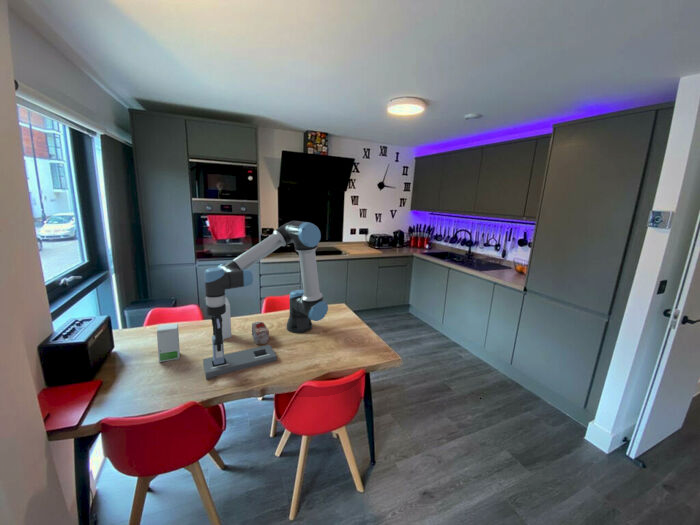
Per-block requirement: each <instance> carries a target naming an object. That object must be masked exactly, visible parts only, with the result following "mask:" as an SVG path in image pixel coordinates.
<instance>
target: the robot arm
mask: <svg viewBox="0 0 700 525" xmlns="http://www.w3.org/2000/svg"><path fill="white" fill-rule="evenodd" d="M321 234H322V233H321V230H320V229H319V227H318V226H317V225H315V223H312V222H309V221H299V220H291V221H289V222H286V223H284V224H283V225H280V227H277V228H276V229H275V230H273V232H272V234H270V235H269V236H267V237H266V238H265V239H263V240H261V241H260V242H259V243H257V244H255V245H254V246H252V247H251V248H249V249H248V250H245V252H243V253H241V254H240V255H237V257H235V258H233V259H232V260H230V261H229V262H227V263H221V264H219V265H218V266H217V267H210V268H207V269H205V270H204V276H203V277H204V278H203V279H204V280H203V281H204V289H205V297H204V298H203V300H204V301H205V305H206V306H205V308H206V312H205V313H206V315H208V316H209V317H210V316H211V318H210V319H211V326H212V336H214V335H215V342H216V343H214V345H215V352H216V358H219V357H223V351H222V344H223V345H224V339H223V340H222V318H221V315H222V314H224V313H225V312H226V304H225V303H226V299H225V298H226V290H232V289H237V288H245V287H249V286H251V285H253V283H254V275H253V273H252V270H250V268H251V267H252V266H254V265H255V264H257V263H258V262H259V261H261V260H262V259H264V258H266V257H267V256H269V255H271V254H272V253H273V252H274V251H276V250H278V249H279V248H280V247H286V245H288V244H292V243H293V245H294V250H295V251H296V252H297V253H298V259H299V267H300V274H301V281H302V282H301V283H302V289H296V290H292V291H290V293H289V296H288V297H289V317H288V319H287V321H286V322H287V323H286V330H287V331H288V332H291V333H294V334H298V333H299V334H301V333H306V332H309V331H311V330H312V328H313V322H314V321H315V322H319V321H322V320H323V319H324V318H325V317H326V315H327V313H328V311H329V306H328V304H327V301H324V296H323V293H322V292H320V285H319V284H320V283H319V275H318V268H317V267H318V265H317V257H316V250H317V249H318V245H319V243H320V241H321V238H322V235H321Z"/></svg>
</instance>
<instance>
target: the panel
mask: <svg viewBox="0 0 700 525" xmlns="http://www.w3.org/2000/svg"><path fill="white" fill-rule="evenodd" d="M277 359H278V358H277V354H276V353H275V350H273V347H272V346H271V344H264V345H261V346H257V347H252V348H247V349H244V350H243V349H242V350H238V351H235V352H230V353H224V363H222V364H218V365H214V361H213V356H211V357H207V358H203V359H202V361H203V362H202V363H203V368H204V369H203V370H204V374H205V380H208V379H213V378H217V376H222V375H225V374H230V373H233V372H237V371H241V370H245V369H249V368H254V367H257V366H262V365H266V364H269V363H274V362H277Z"/></svg>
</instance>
